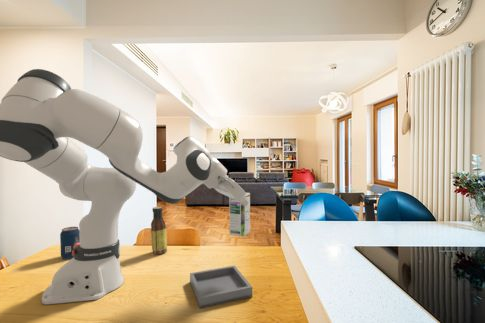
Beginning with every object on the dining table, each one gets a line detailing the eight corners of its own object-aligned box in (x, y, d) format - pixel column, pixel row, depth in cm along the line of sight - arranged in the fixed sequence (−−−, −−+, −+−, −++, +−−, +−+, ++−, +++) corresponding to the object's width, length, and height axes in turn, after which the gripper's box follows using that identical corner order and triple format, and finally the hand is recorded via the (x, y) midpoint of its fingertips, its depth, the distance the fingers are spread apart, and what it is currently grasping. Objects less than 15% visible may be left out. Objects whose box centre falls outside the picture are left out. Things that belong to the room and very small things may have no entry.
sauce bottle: (169, 249, 116) (168, 206, 116) (163, 255, 110) (162, 209, 109) (155, 249, 117) (154, 205, 116) (148, 254, 111) (148, 208, 110)
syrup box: (228, 234, 91) (228, 193, 90) (236, 229, 96) (236, 191, 95) (243, 237, 88) (243, 194, 88) (250, 232, 94) (250, 192, 93)
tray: (200, 308, 73) (200, 298, 73) (190, 281, 88) (190, 273, 88) (252, 296, 79) (252, 287, 79) (234, 273, 94) (234, 265, 93)
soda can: (64, 254, 112) (63, 227, 111) (82, 252, 114) (81, 225, 113) (58, 261, 105) (57, 231, 104) (77, 258, 107) (76, 230, 106)
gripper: (231, 170, 79) (260, 200, 83) (212, 167, 98) (236, 191, 102) (217, 186, 77) (247, 215, 82) (200, 179, 96) (225, 203, 100)
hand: (241, 202), depth 92 cm, fingers closed on syrup box, 8 cm apart
